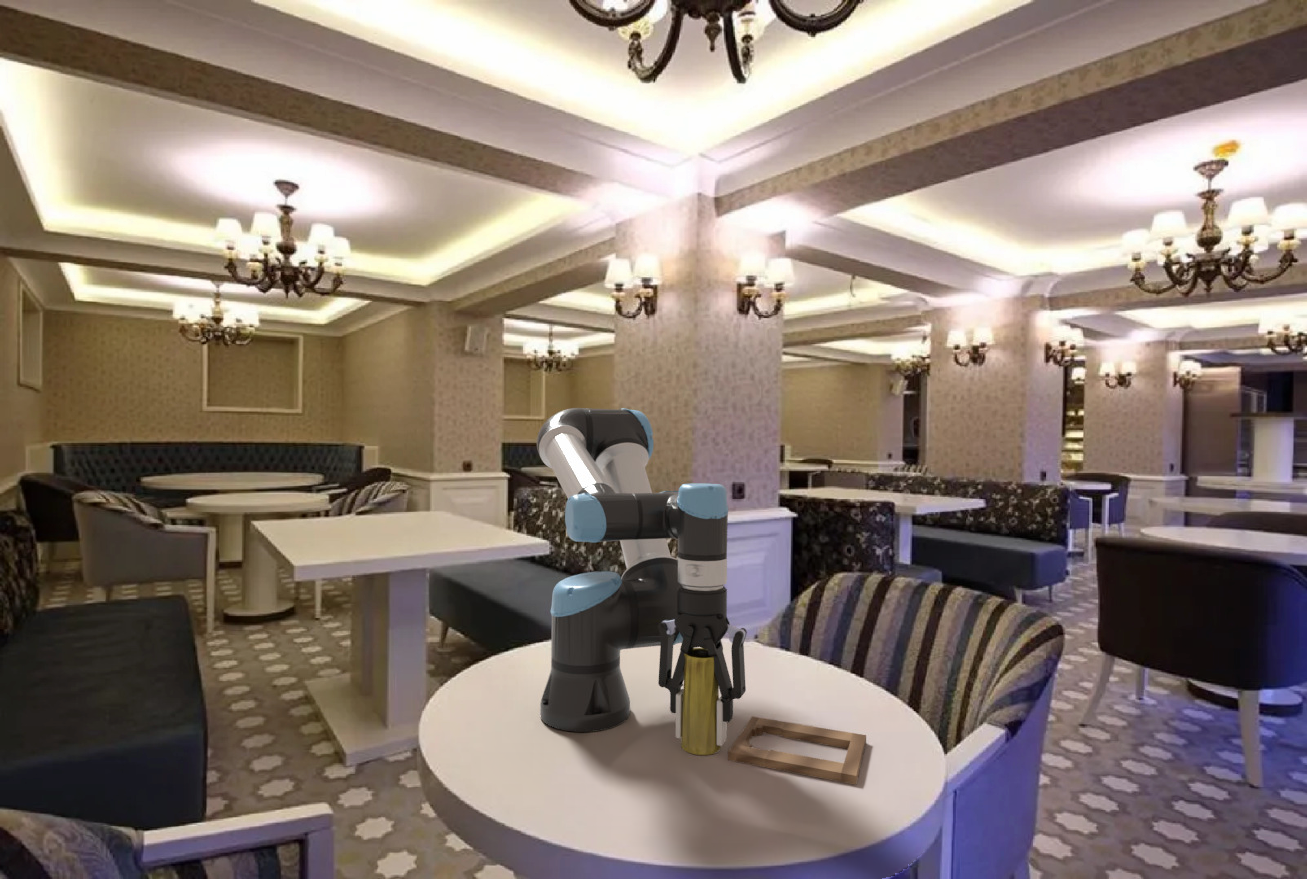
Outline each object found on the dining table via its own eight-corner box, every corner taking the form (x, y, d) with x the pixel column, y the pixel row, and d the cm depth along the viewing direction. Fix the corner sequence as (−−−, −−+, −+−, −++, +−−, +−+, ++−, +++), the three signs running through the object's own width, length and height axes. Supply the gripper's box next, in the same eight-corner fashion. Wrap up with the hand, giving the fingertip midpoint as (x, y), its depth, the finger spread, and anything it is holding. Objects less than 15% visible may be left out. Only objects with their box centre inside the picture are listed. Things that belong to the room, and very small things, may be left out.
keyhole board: (728, 759, 99) (728, 751, 99) (752, 723, 112) (752, 716, 112) (856, 784, 92) (856, 775, 92) (866, 742, 105) (866, 735, 105)
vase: (718, 757, 100) (719, 660, 100) (677, 753, 101) (678, 657, 101) (723, 740, 106) (723, 648, 106) (684, 736, 107) (684, 645, 107)
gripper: (635, 584, 104) (634, 737, 103) (756, 596, 96) (755, 759, 96) (654, 575, 110) (653, 718, 110) (768, 585, 103) (767, 738, 103)
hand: (701, 737), depth 103 cm, fingers closed on vase, 6 cm apart
